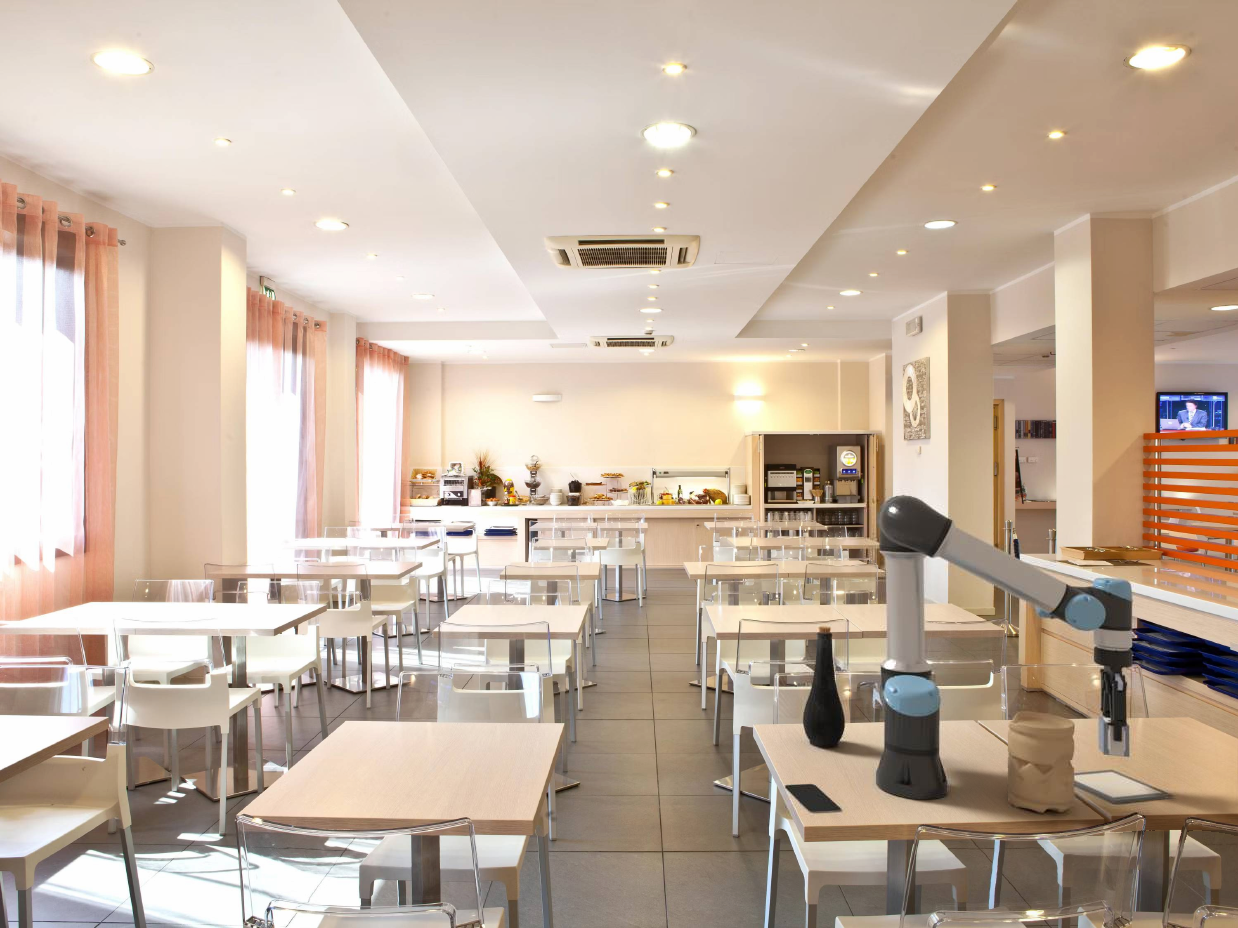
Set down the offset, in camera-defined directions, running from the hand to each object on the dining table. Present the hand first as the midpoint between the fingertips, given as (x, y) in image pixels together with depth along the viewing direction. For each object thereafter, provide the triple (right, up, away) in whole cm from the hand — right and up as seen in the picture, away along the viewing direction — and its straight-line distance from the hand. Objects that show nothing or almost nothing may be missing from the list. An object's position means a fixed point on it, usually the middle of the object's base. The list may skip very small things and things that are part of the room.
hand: (1113, 750), depth 185 cm
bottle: (-58, -8, +28) cm, 65 cm away
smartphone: (-70, -7, -9) cm, 71 cm away
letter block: (0, 0, 0) cm, 0 cm away
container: (-22, -8, -11) cm, 26 cm away
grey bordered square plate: (0, -8, 0) cm, 8 cm away
